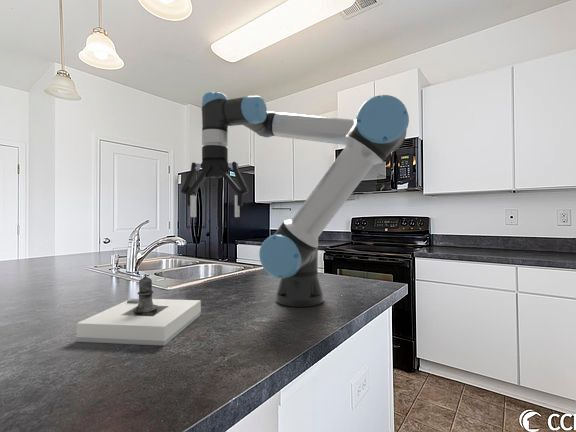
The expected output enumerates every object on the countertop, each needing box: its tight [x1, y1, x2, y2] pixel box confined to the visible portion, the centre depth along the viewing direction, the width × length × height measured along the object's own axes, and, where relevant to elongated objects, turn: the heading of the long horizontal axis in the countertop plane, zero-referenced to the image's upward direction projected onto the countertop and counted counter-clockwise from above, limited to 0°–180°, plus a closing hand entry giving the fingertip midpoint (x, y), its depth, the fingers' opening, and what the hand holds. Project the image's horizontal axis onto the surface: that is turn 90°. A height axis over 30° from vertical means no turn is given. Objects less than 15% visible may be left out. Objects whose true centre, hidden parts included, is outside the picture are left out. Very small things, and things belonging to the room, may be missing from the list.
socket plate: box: [76, 297, 202, 346], centre depth 77 cm, size 20×20×5 cm
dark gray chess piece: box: [132, 273, 158, 316], centre depth 77 cm, size 6×6×12 cm
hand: (215, 217), depth 94 cm, fingers open, 13 cm apart
